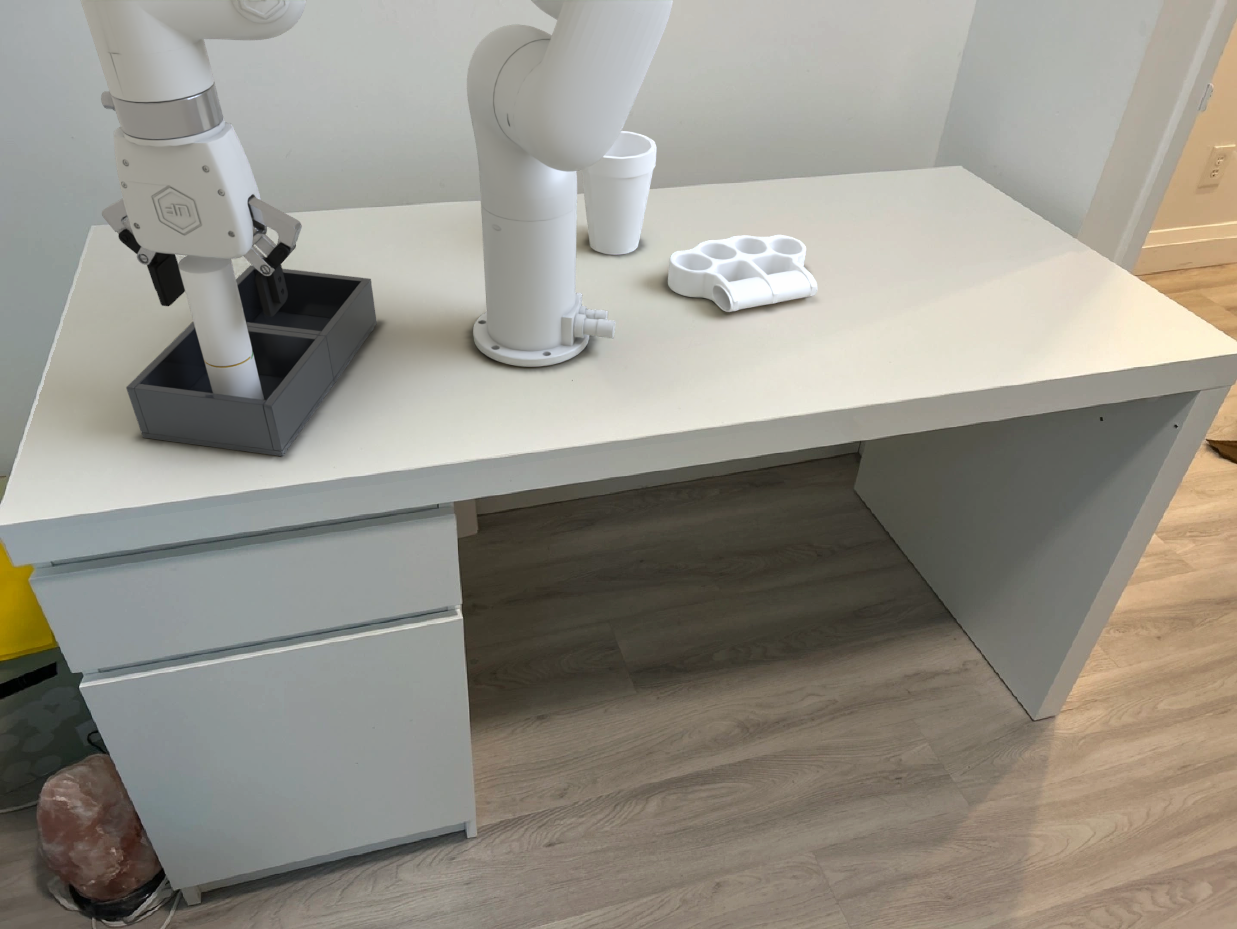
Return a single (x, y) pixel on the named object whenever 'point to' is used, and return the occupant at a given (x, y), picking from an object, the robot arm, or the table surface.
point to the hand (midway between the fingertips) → (224, 303)
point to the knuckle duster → (743, 271)
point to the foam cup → (619, 193)
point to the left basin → (191, 413)
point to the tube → (220, 325)
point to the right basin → (317, 310)
